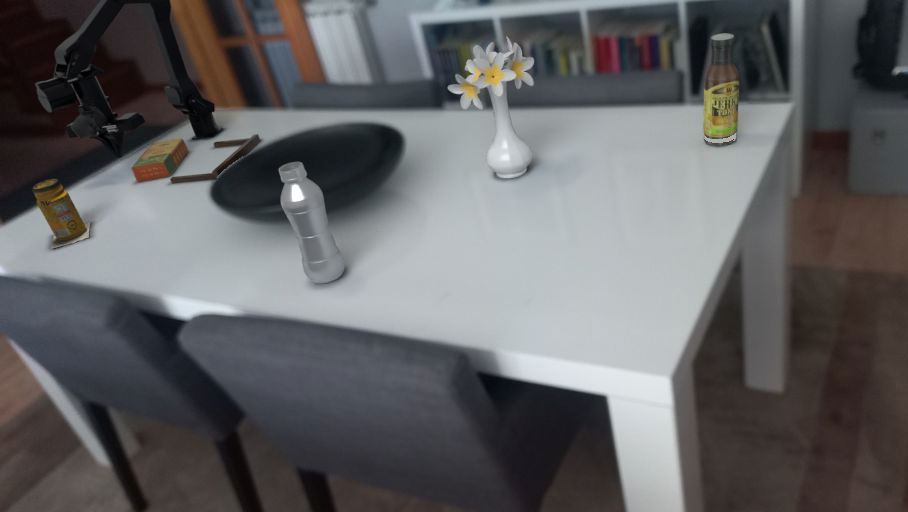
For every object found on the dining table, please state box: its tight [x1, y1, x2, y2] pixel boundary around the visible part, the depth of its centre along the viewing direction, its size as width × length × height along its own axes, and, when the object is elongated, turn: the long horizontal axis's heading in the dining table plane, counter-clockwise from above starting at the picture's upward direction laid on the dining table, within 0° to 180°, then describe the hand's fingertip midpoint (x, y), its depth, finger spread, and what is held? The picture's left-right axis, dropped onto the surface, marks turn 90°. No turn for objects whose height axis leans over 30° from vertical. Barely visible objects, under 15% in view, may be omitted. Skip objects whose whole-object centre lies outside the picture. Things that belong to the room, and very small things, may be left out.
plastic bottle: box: [278, 161, 346, 284], centre depth 115 cm, size 6×7×20 cm
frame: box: [169, 133, 261, 184], centre depth 179 cm, size 22×13×2 cm, turn 171°
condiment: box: [31, 178, 91, 249], centre depth 151 cm, size 7×8×12 cm
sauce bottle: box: [702, 32, 740, 147], centre depth 134 cm, size 6×6×20 cm
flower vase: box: [447, 35, 535, 179], centre depth 137 cm, size 13×18×25 cm
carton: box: [131, 137, 189, 183], centre depth 182 cm, size 8×16×4 cm, turn 4°
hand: (120, 157), depth 183 cm, fingers closed
